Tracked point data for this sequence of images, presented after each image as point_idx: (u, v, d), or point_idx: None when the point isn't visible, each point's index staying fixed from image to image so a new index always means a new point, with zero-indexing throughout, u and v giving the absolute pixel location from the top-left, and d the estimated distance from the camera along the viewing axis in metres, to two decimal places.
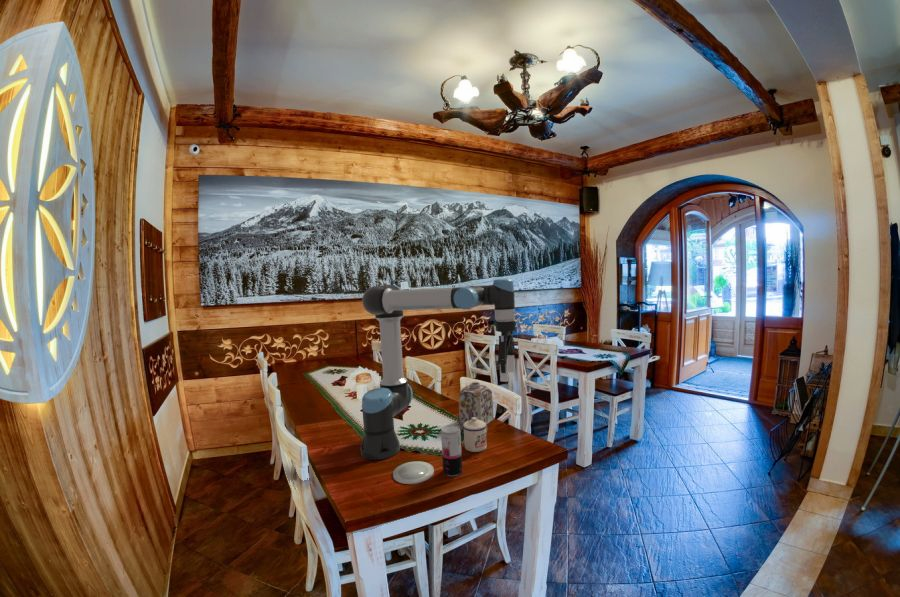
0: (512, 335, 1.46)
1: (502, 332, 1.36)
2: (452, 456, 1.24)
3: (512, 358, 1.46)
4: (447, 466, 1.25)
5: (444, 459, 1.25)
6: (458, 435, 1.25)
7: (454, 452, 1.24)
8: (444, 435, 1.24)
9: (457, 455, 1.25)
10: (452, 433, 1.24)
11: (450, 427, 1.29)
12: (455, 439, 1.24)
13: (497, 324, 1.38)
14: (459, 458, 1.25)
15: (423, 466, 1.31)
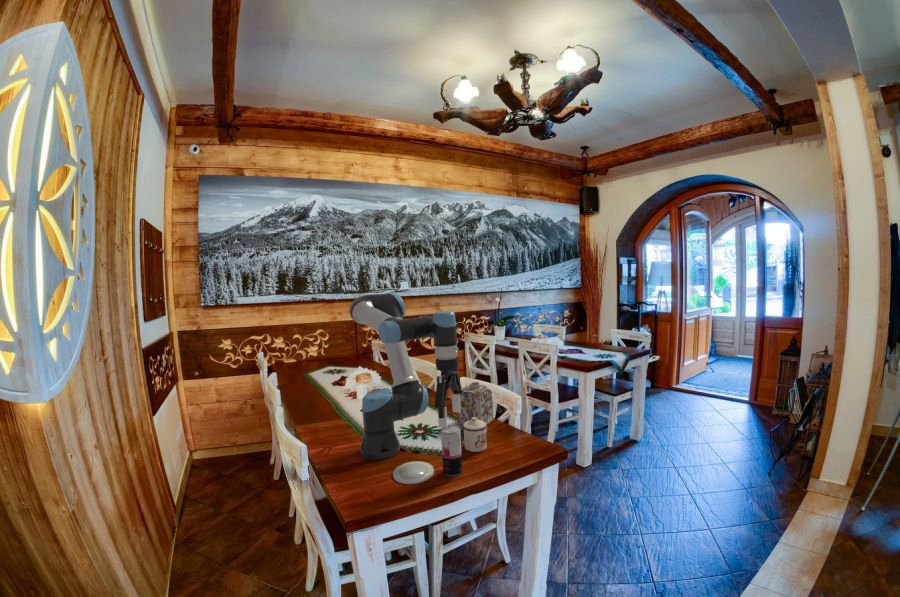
0: (457, 372, 1.32)
1: (442, 371, 1.23)
2: (452, 456, 1.24)
3: (457, 397, 1.32)
4: (447, 466, 1.25)
5: (444, 459, 1.25)
6: (458, 435, 1.25)
7: (454, 452, 1.24)
8: (444, 435, 1.24)
9: (457, 455, 1.25)
10: (452, 433, 1.24)
11: (450, 427, 1.29)
12: (455, 439, 1.24)
13: (437, 363, 1.24)
14: (459, 458, 1.25)
15: (423, 466, 1.31)
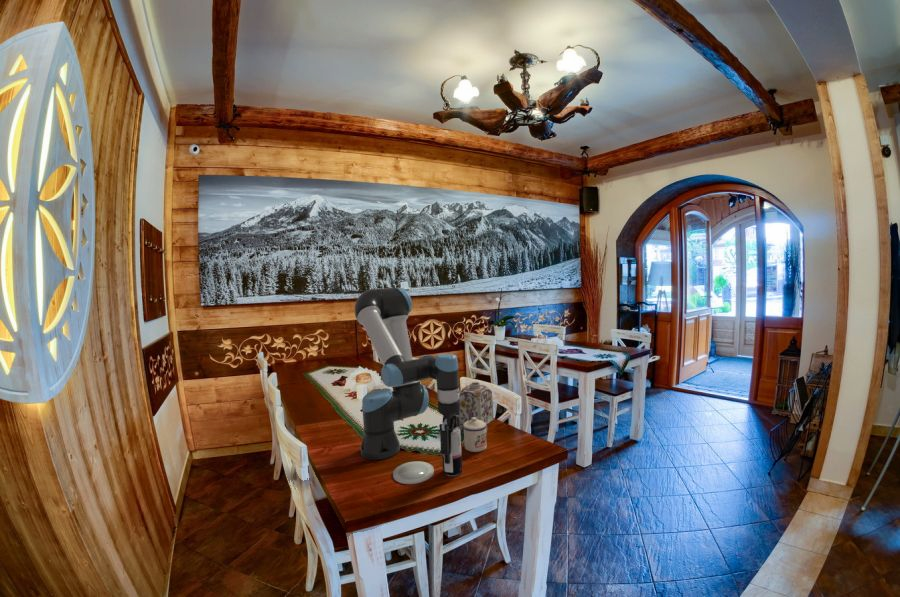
0: (458, 416, 1.32)
1: (444, 415, 1.23)
2: (452, 456, 1.24)
3: None
4: None
5: None
6: (458, 435, 1.25)
7: (454, 452, 1.24)
8: None
9: (457, 455, 1.25)
10: (452, 433, 1.24)
11: None
12: (455, 439, 1.24)
13: (439, 406, 1.25)
14: (459, 458, 1.25)
15: (423, 466, 1.31)
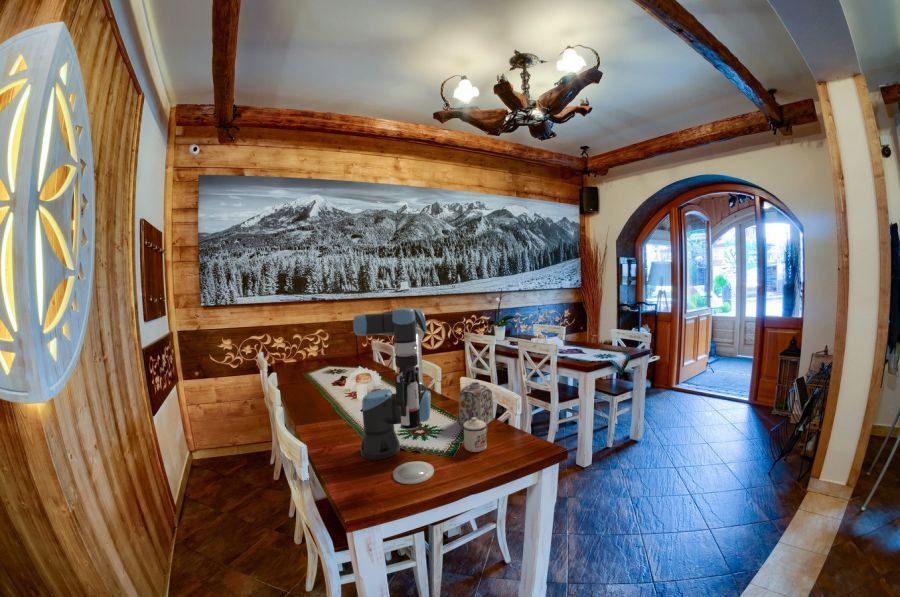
0: (417, 372, 1.32)
1: (400, 368, 1.23)
2: (409, 409, 1.24)
3: None
4: None
5: None
6: (415, 388, 1.25)
7: (411, 405, 1.24)
8: None
9: (414, 408, 1.25)
10: (409, 386, 1.24)
11: None
12: (411, 392, 1.24)
13: (396, 359, 1.24)
14: (416, 412, 1.25)
15: (423, 466, 1.31)
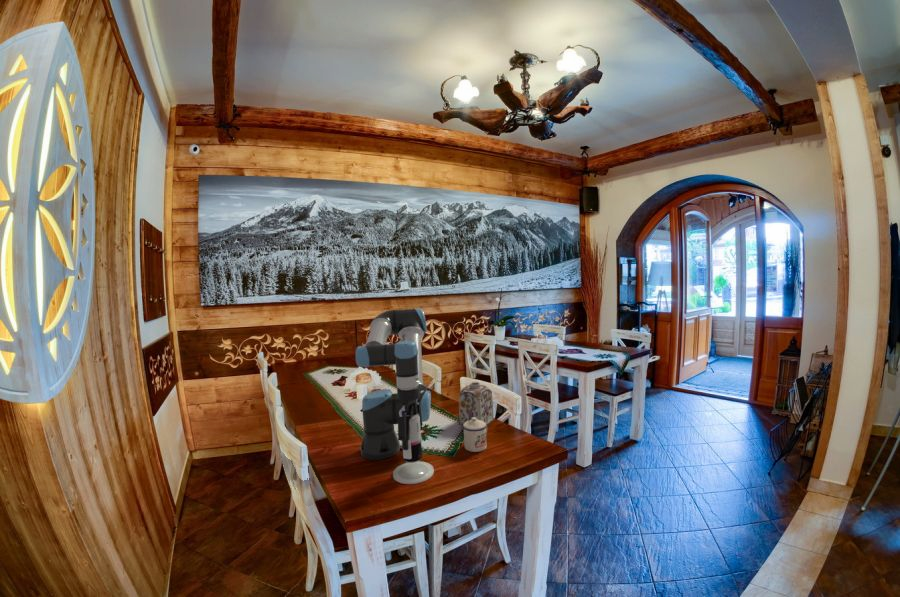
0: (419, 404, 1.32)
1: (402, 402, 1.24)
2: (411, 442, 1.24)
3: None
4: None
5: None
6: (417, 422, 1.25)
7: (413, 439, 1.25)
8: None
9: (416, 441, 1.25)
10: (411, 420, 1.24)
11: None
12: (413, 426, 1.24)
13: (398, 393, 1.25)
14: (418, 445, 1.26)
15: (423, 466, 1.31)
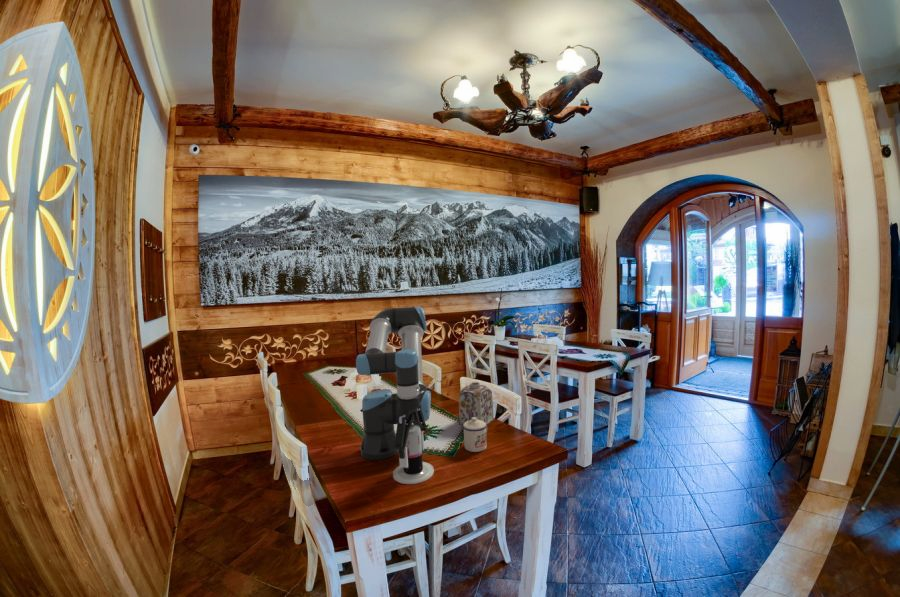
0: (420, 409, 1.33)
1: (403, 411, 1.24)
2: (412, 455, 1.25)
3: None
4: None
5: None
6: (418, 434, 1.26)
7: (414, 451, 1.25)
8: None
9: (417, 454, 1.25)
10: (411, 432, 1.25)
11: (411, 426, 1.29)
12: (414, 438, 1.25)
13: (398, 402, 1.25)
14: (419, 457, 1.26)
15: (423, 466, 1.31)
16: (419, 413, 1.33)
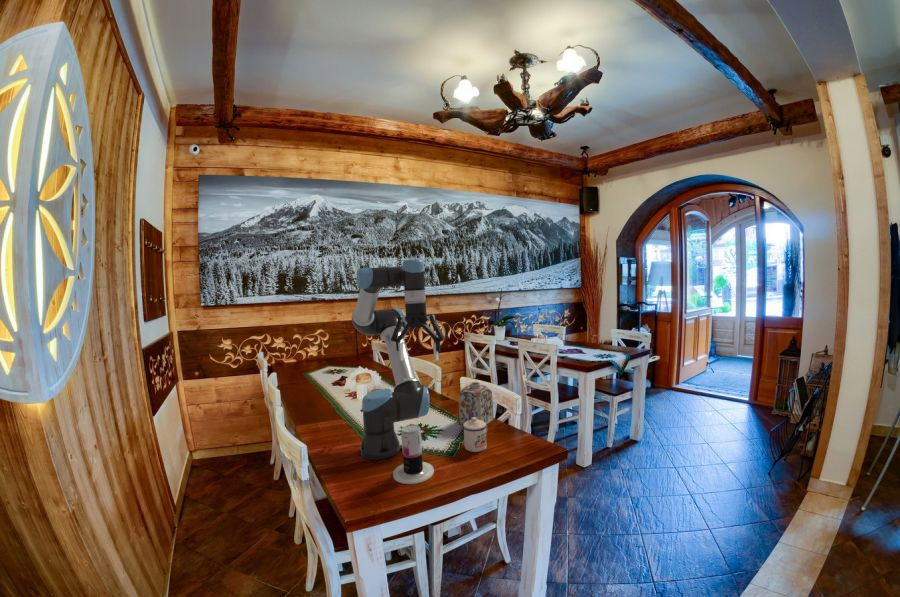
0: (432, 320, 1.33)
1: None
2: (412, 455, 1.25)
3: None
4: (406, 465, 1.26)
5: (404, 458, 1.26)
6: (418, 434, 1.26)
7: (414, 451, 1.25)
8: (404, 434, 1.25)
9: (417, 454, 1.25)
10: (411, 432, 1.25)
11: (411, 426, 1.29)
12: (414, 438, 1.25)
13: None
14: (419, 457, 1.26)
15: (423, 466, 1.31)
16: None
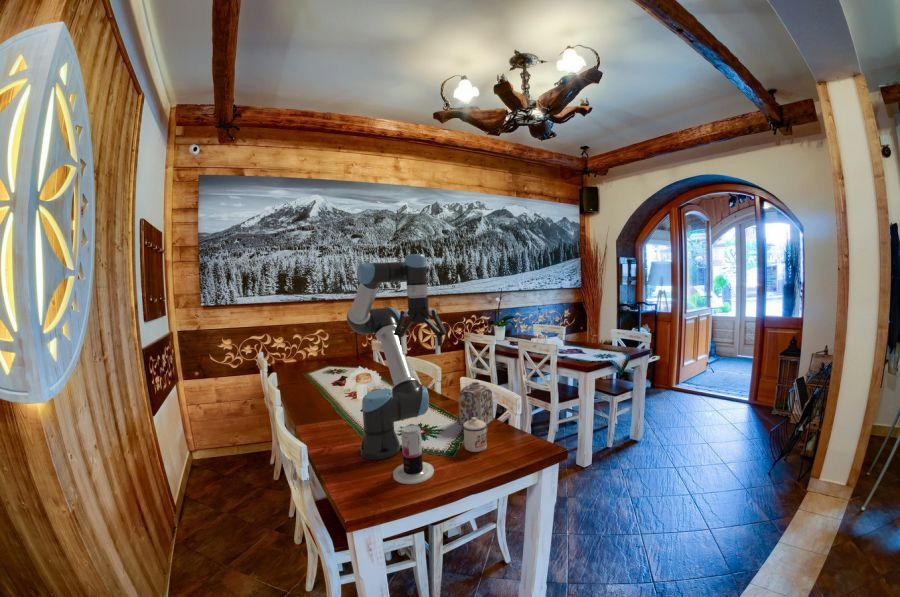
0: (433, 315, 1.34)
1: None
2: (412, 455, 1.25)
3: None
4: (406, 465, 1.26)
5: (404, 458, 1.26)
6: (418, 434, 1.26)
7: (414, 451, 1.25)
8: (404, 434, 1.25)
9: (417, 454, 1.25)
10: (411, 432, 1.25)
11: (411, 426, 1.29)
12: (414, 438, 1.25)
13: None
14: (419, 457, 1.26)
15: (423, 466, 1.31)
16: None
